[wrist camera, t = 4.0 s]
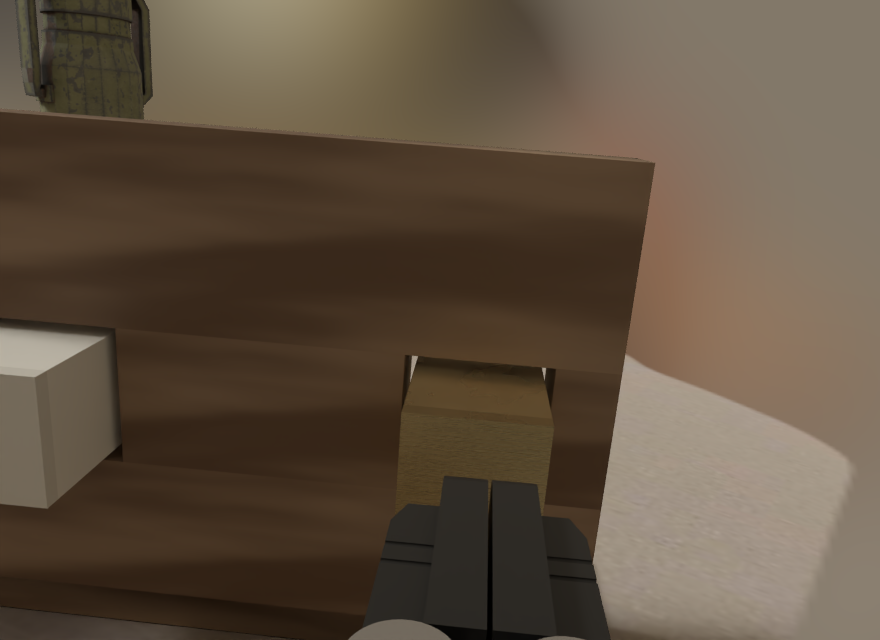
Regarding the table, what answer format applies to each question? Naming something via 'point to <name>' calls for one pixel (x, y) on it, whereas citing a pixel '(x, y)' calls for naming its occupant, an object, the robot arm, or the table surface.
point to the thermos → (87, 56)
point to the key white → (54, 407)
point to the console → (294, 346)
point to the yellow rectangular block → (472, 428)
